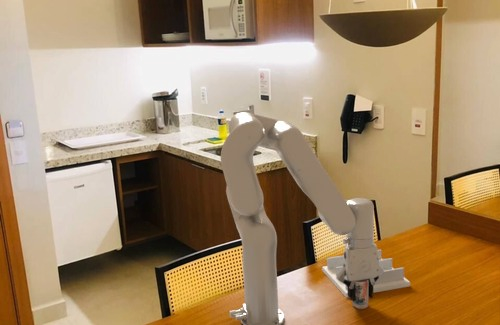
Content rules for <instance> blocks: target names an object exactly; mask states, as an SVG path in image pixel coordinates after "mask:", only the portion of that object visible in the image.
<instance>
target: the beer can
mask: <svg viewBox="0 0 500 325" xmlns="http://www.w3.org/2000/svg"><path fill="white" fill-rule="evenodd" d="M354 288H355V301H352V306H353V307H354V308H356V309H359V310H365V309H367V308H368V307H369V305H370V304H369V296H368V279H365V280H359V281H355V283H354Z"/></svg>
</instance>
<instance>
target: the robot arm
mask: <svg viewBox="0 0 500 325" xmlns="http://www.w3.org/2000/svg"><path fill="white" fill-rule="evenodd" d="M228 132H229V134H228V136H227V137H226V138H225V141H224V142H223V144H222V148H221V152H220V163H221V170H222V172H223V176H224V179H225V180H224V181H225V183H226V187H225V188H226V189H225V194H226V197H227V201H228V204H229V208H230V210H231V214H232V217H233V221H234V223H235V226H236V229H237V232H238V233H239V237H240V239H241V245H242V254H241V255H242V256H241V257H242V272H243V275H242V276H243V287H244V288H243V290H244V303H243V304H242V307H240V308H239V309H236V310H235V309H233V310H229V318H235V321H240V323H241V325H242V324H243V325H282V324H283V323H284V322H285V314H284V312H283V311H282V310H281V309H280V308H279V296H278V292H279V291H278V274H277V248H278V247H277V246H278V236H277V232H276V231H277V230H276V229H275V226H274V224H273V222H271V219H269V217H268V215H267V213H266V210H265V206H264V193H263V190H262V188H261V185H260V181H259V178H258V175H257V172H256V167H255V163H254V154H255V152H256V150H257V148H258V147H259V146H260V147H265V148H270V149H274V151H276V153H277V155H278V156H279V158H280V160H282V163H283V164H284V166H285V167H286V168H287V170H288V171H289V174H290V175H291V176H292V178H293V179H294V182H296V184H297V185H298V187H299V188H300V189H301V191H302V192H303V193H304V194H305V195H306V196H307V197H308V199H309V200H310V201H311V202H312V203H313V204H314V206H315V207H316V208H317V213H318V216H319V218H320V220H321V221H322V222H323V223H324V224H325V225H326V226H327V227H328V228H329V230H330V231H331V232H332V233H333V234H335V235H337V236H346V238H343V239H342V243H343V244H344V245H345V246H344V250H343V255H342V256H343V269H342V270H341V272H340V273H339V275H338V276H337V279H338V280H339V281H340V282H342V283H344V284H345V285H346V286H347V287H348V297H347V298H349V299H350V300H351V301H352V302H353V301H355V288H354V283H355V281H359V280H365V279H368V298H369V299H371V298H373V294H374V293H373V285H375V282H376V281H377V279H378V278H379V276H381V275H382V274H383V273H384V271H383V270H382V269H381V268H380V266H379V256H378V250H379V249H378V246H377V244H376V243H375V242H374V239H375V238H374V234H375V232H374V228H375V227H374V226H375V224H374V222H375V221H374V219H375V218H374V217H375V215H374V214H375V210H374V208H375V206H374V202H373V201H372V200H370V199H369V198H364V197H355V198H351V199H345V198H344V196H343V194H341V191H340V190H339V188H338V187H337V186H336V184H335V183H334V182H333V179H332V178H331V177H330V175H329V173H328V172H327V171H326V170H325V168H324V166H323V165H322V163H321V161H320V160H319V159H318V157H317V155H316V154H315V151H314V150H313V149H312V147H311V145H310V143H309V142H308V140H307V139H306V137H305V136H304V133H302V132H301V130H300V129H299V128H298V127H297V126H295V125H293V124H292V123H290V122H289V121H288V122H287V121H284V120H280V119H275V118H270V117H267V116H264V115H263V116H262V115H259V114H255V113H251V112H248V111H243V112H237V113H236V114H235V115H233V116H232V117H231V119H230V120H229V123H228ZM345 275H346V277H347V280H346V279H345V278H344V276H345Z"/></svg>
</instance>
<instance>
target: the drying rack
mask: <svg viewBox="0 0 500 325" xmlns="http://www.w3.org/2000/svg"><path fill="white" fill-rule="evenodd" d="M377 250H378V256H379V266H380V268H381V269H382V270H383V271H384V273H383V274H382V275H381V276H379V278H378V279H377V281H376V282H375V285H373V294H374V293H380V292H384V291H391V290H396V289H397V290H398V289H403V288H408V287H411V282H410V281H409V280H408V279H407V277H405V267H398V268H397V267H396V268H394V267H393V258H392V257H391V258H390V257H389V258H382V249H377ZM342 269H343V255H338V256H337V255H336V256H332V257H326V265H325V266H322V267H321V271H322V273H324V274H325V275H326V277H328V279H329V280H330V282H331V283H333V285H334V286H335V287H336V288H337V289H338V290H339V291H340V292H341V294H342V295H343V296H344V297H345V298H346V299H347V298H349V297H348V287H347V286H346V285H345V284H344V283H342V282H340V281H339V280H338V279H337V276H338V275H339V273H340V272H341V270H342ZM344 278H345V279H346V280H347V277H346V275H345V276H344Z"/></svg>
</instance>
